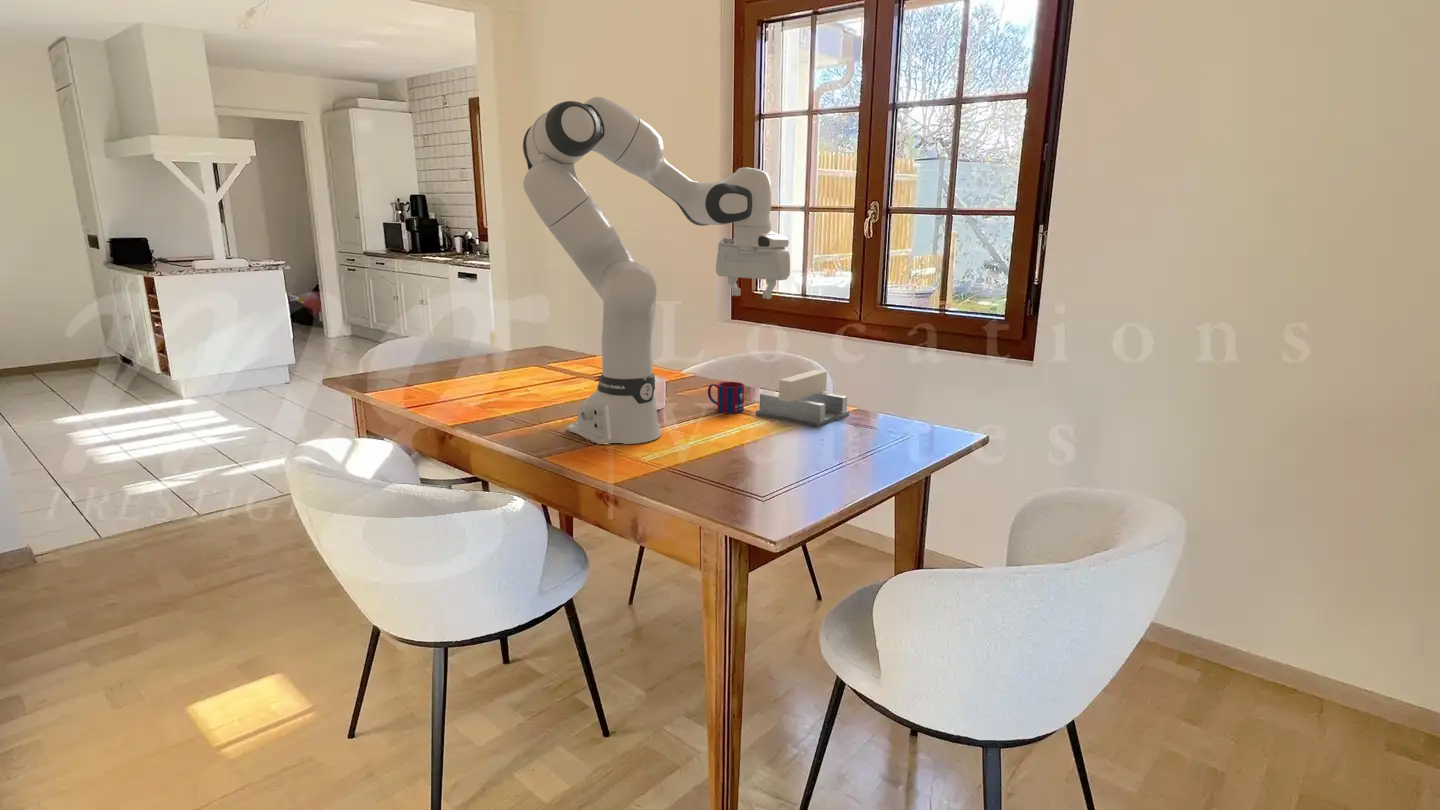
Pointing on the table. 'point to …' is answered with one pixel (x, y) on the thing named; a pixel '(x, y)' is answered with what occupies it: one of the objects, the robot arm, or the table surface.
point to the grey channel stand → (804, 408)
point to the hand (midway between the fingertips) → (751, 297)
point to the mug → (729, 397)
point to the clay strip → (802, 385)
